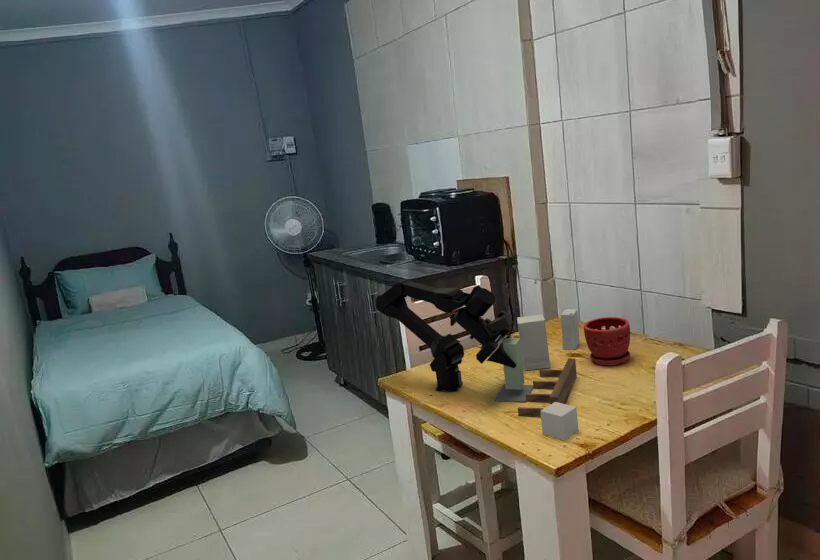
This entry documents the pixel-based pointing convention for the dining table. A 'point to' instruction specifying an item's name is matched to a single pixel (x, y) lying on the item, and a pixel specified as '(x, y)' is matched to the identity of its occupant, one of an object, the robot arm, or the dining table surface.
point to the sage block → (515, 375)
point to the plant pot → (608, 340)
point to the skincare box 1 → (533, 342)
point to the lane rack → (559, 388)
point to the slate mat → (513, 394)
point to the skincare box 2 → (570, 329)
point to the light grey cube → (559, 420)
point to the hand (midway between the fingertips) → (517, 363)
